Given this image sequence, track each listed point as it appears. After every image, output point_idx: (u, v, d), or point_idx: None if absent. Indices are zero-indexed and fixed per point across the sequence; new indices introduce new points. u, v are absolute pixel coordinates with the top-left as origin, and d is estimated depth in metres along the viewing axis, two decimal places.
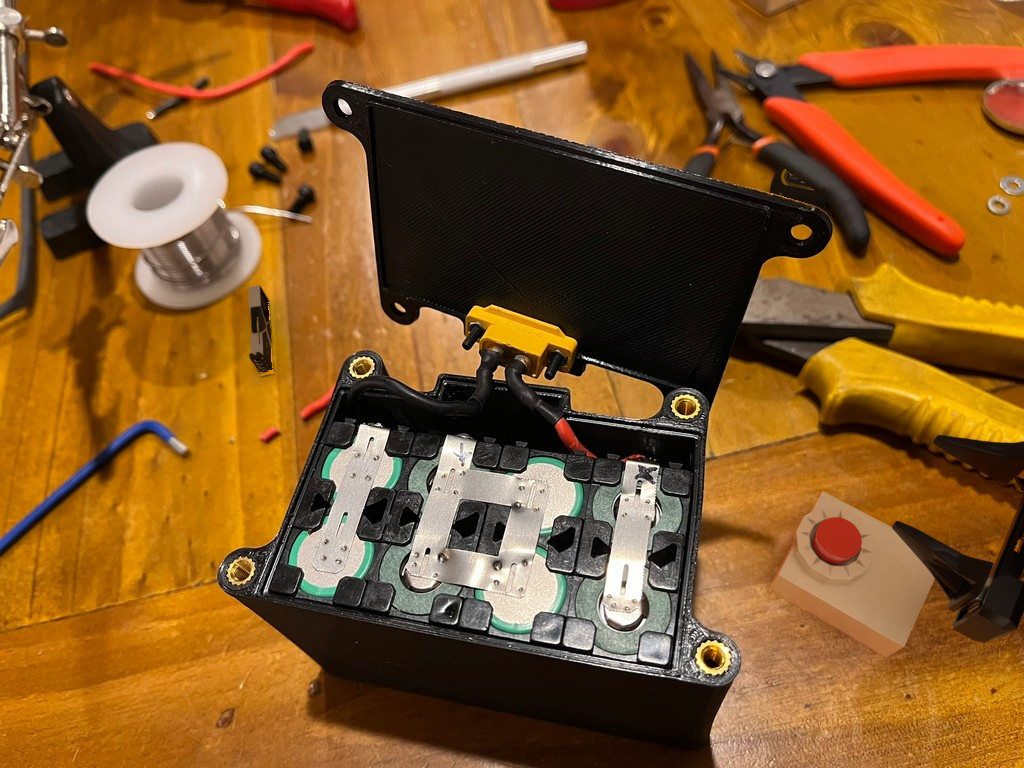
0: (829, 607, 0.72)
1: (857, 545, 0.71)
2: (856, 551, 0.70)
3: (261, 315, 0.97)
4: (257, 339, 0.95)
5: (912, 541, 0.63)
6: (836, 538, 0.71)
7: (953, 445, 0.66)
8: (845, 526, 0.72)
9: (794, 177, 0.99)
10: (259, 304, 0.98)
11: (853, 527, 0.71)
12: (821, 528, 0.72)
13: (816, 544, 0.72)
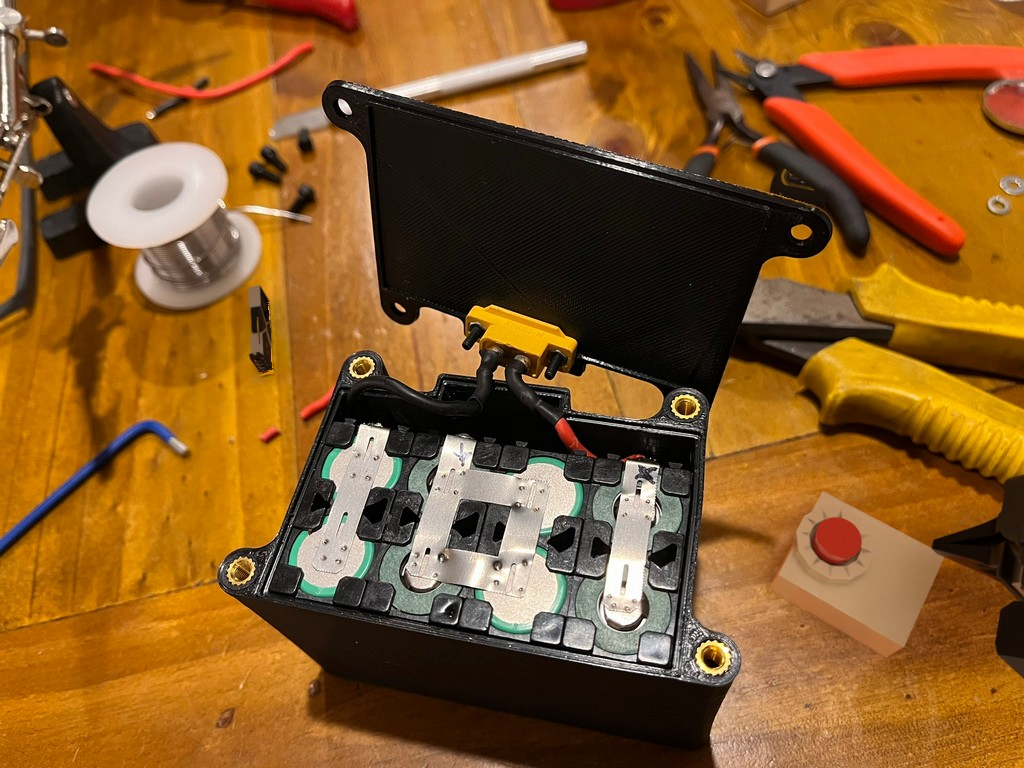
0: (829, 607, 0.72)
1: (857, 545, 0.71)
2: (856, 551, 0.70)
3: (261, 315, 0.97)
4: (257, 339, 0.95)
5: (953, 557, 0.63)
6: (836, 538, 0.71)
7: None
8: (845, 526, 0.72)
9: (794, 177, 0.99)
10: (259, 304, 0.98)
11: (853, 527, 0.71)
12: (821, 528, 0.72)
13: (816, 544, 0.72)
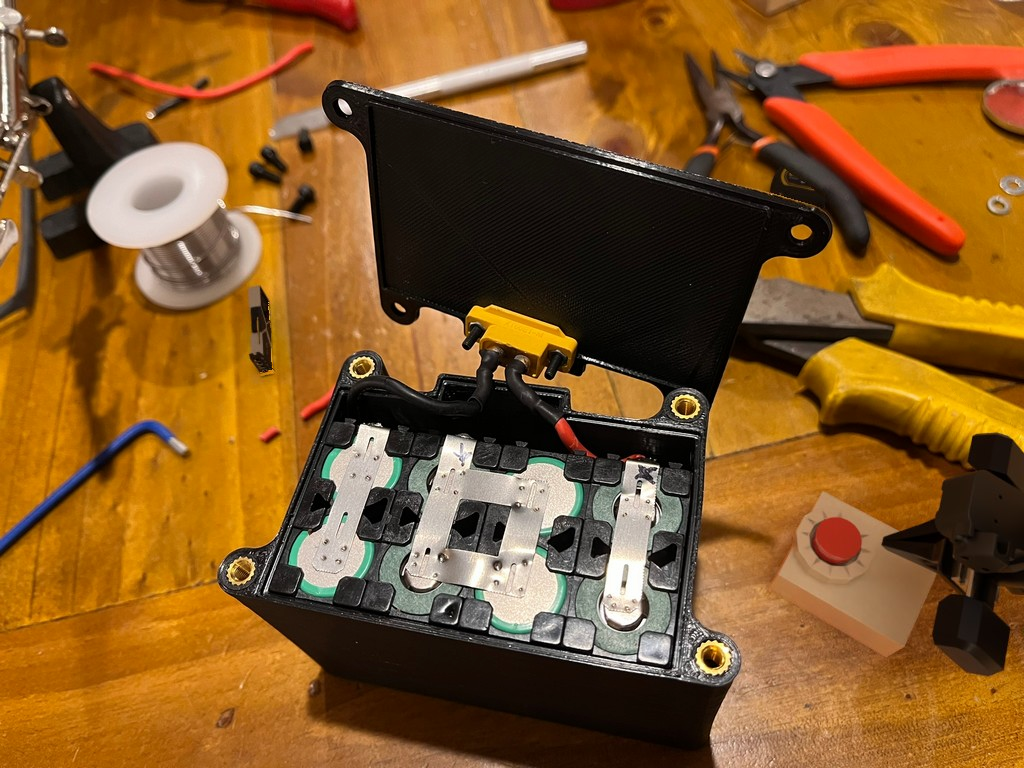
0: (829, 607, 0.72)
1: (857, 545, 0.71)
2: (856, 551, 0.70)
3: (261, 315, 0.97)
4: (257, 339, 0.95)
5: (901, 553, 0.66)
6: (836, 538, 0.71)
7: None
8: (845, 526, 0.72)
9: (794, 177, 0.99)
10: (259, 304, 0.98)
11: (853, 527, 0.71)
12: (821, 528, 0.72)
13: (816, 544, 0.72)
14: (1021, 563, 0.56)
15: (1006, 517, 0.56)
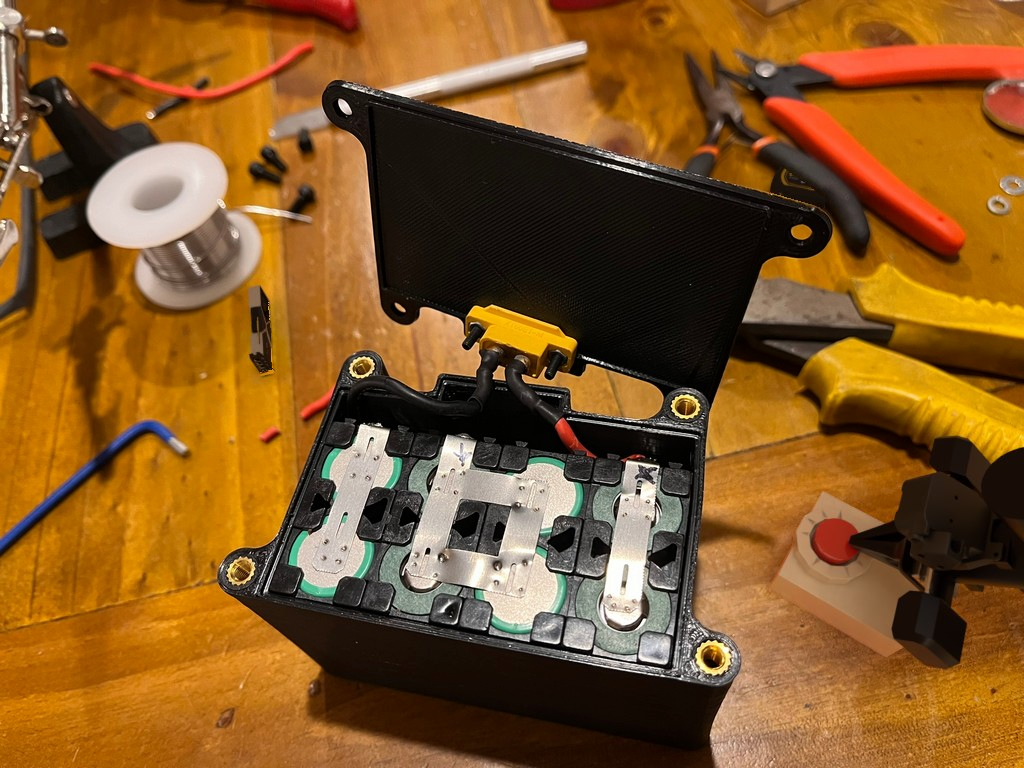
0: (829, 607, 0.72)
1: None
2: (855, 552, 0.71)
3: (261, 315, 0.97)
4: (257, 339, 0.95)
5: (866, 551, 0.69)
6: (835, 539, 0.71)
7: None
8: (844, 527, 0.72)
9: (794, 177, 0.99)
10: (259, 304, 0.98)
11: (852, 528, 0.72)
12: (820, 529, 0.72)
13: (816, 544, 0.72)
14: (975, 561, 0.58)
15: (961, 517, 0.58)
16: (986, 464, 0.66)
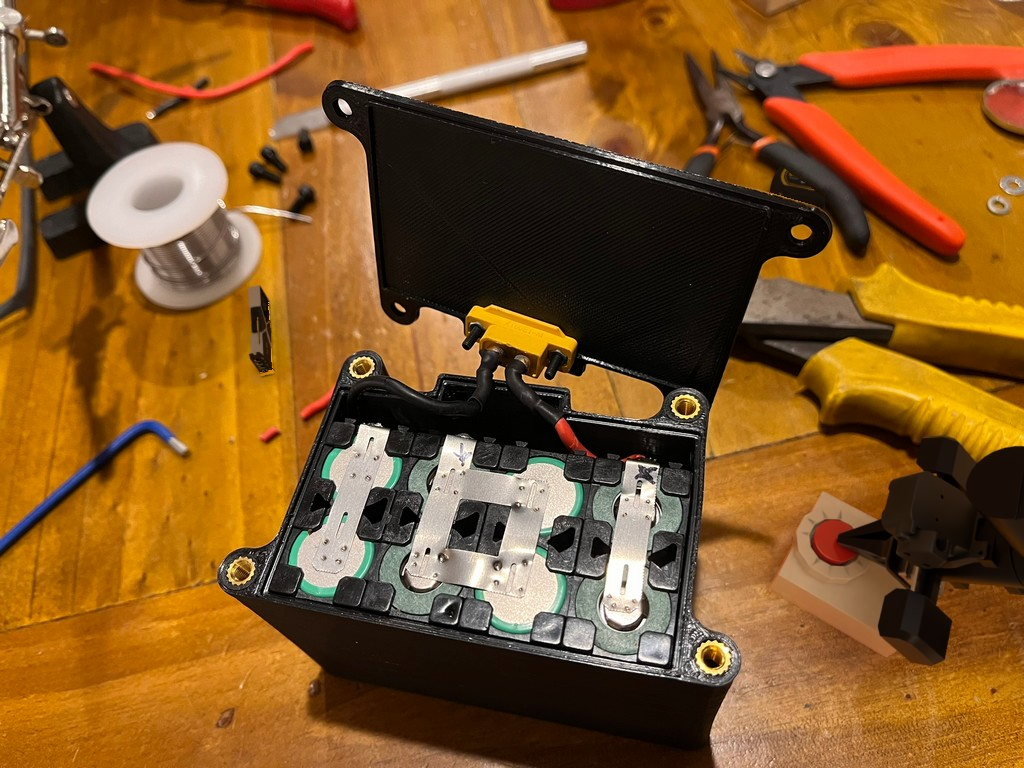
0: (829, 607, 0.72)
1: None
2: (854, 554, 0.71)
3: (261, 315, 0.97)
4: (257, 339, 0.95)
5: (854, 549, 0.70)
6: (834, 541, 0.72)
7: None
8: (843, 529, 0.72)
9: (794, 177, 0.99)
10: (259, 304, 0.98)
11: None
12: (819, 531, 0.72)
13: (814, 546, 0.72)
14: (960, 559, 0.59)
15: (947, 516, 0.59)
16: (972, 463, 0.67)
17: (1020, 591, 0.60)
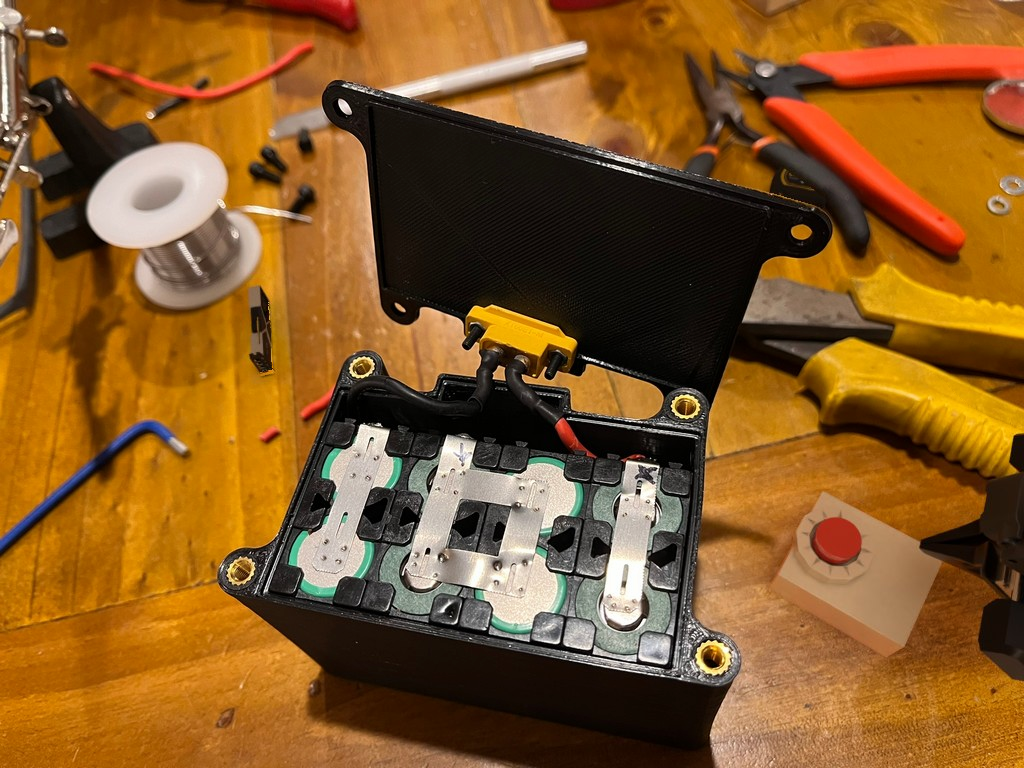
0: (829, 607, 0.72)
1: (857, 545, 0.71)
2: (856, 551, 0.70)
3: (261, 315, 0.97)
4: (257, 339, 0.95)
5: (940, 556, 0.65)
6: (836, 538, 0.71)
7: None
8: (845, 526, 0.72)
9: (794, 177, 0.99)
10: (259, 304, 0.98)
11: (853, 527, 0.71)
12: (821, 528, 0.72)
13: (816, 544, 0.72)
14: None
15: None
16: None
17: None
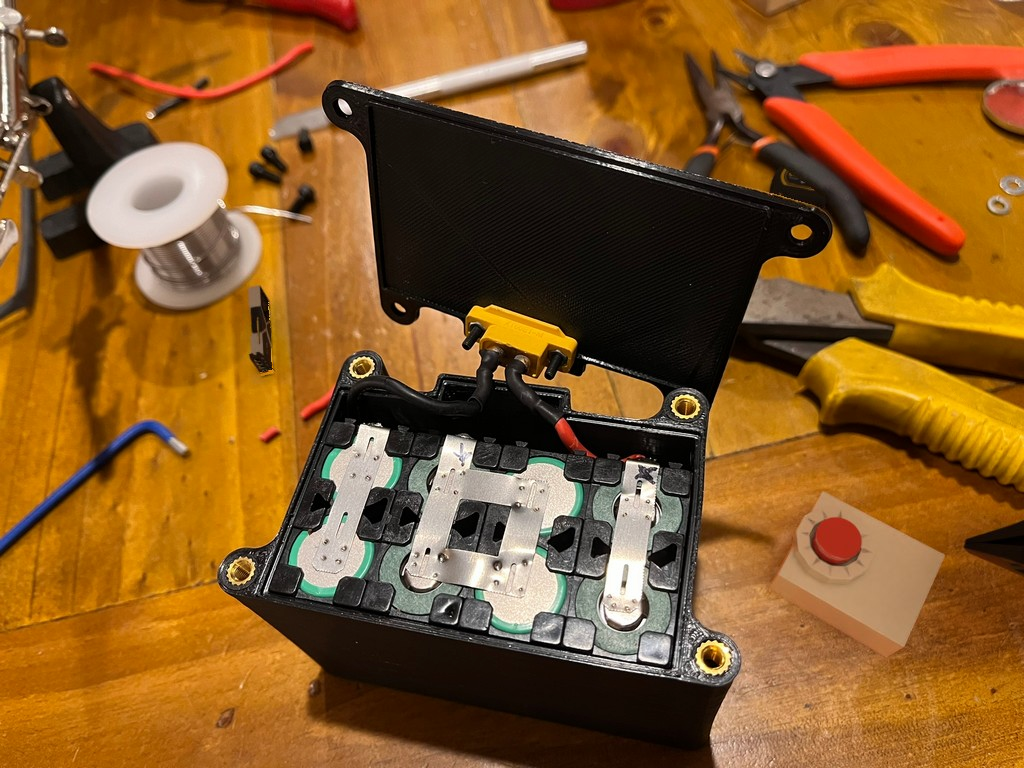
0: (829, 607, 0.72)
1: (857, 545, 0.71)
2: (856, 551, 0.70)
3: (261, 315, 0.97)
4: (257, 339, 0.95)
5: (986, 556, 0.63)
6: (836, 538, 0.71)
7: None
8: (845, 526, 0.72)
9: (794, 177, 0.99)
10: (259, 304, 0.98)
11: (853, 527, 0.71)
12: (821, 528, 0.72)
13: (816, 544, 0.72)
14: None
15: None
16: None
17: None
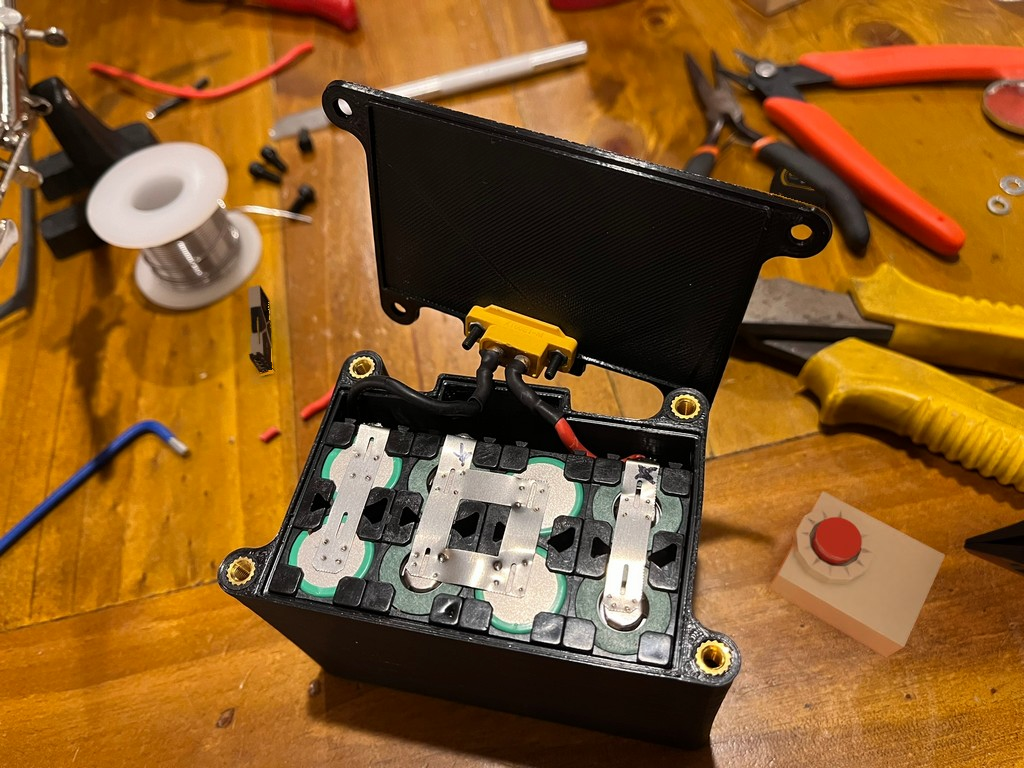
0: (829, 607, 0.72)
1: (857, 545, 0.71)
2: (856, 551, 0.70)
3: (261, 315, 0.97)
4: (257, 339, 0.95)
5: (986, 556, 0.63)
6: (836, 538, 0.71)
7: None
8: (845, 526, 0.72)
9: (794, 177, 0.99)
10: (259, 304, 0.98)
11: (853, 527, 0.71)
12: (821, 528, 0.72)
13: (816, 544, 0.72)
14: None
15: None
16: None
17: None
